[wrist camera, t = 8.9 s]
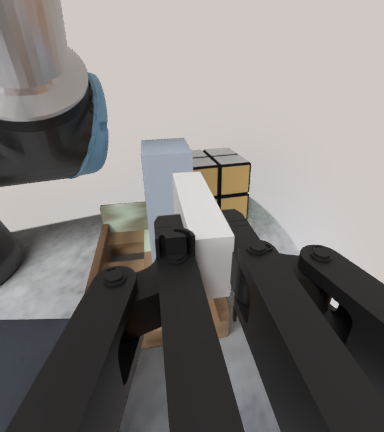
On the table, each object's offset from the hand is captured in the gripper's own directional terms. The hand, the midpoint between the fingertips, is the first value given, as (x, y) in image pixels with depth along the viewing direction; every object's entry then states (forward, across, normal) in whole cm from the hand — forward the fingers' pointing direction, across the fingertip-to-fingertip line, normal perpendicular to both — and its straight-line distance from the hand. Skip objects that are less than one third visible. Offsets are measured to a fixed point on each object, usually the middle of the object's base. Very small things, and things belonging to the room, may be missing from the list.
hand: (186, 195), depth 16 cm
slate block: (+16, 0, -14) cm, 21 cm away
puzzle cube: (+29, +8, -17) cm, 35 cm away
